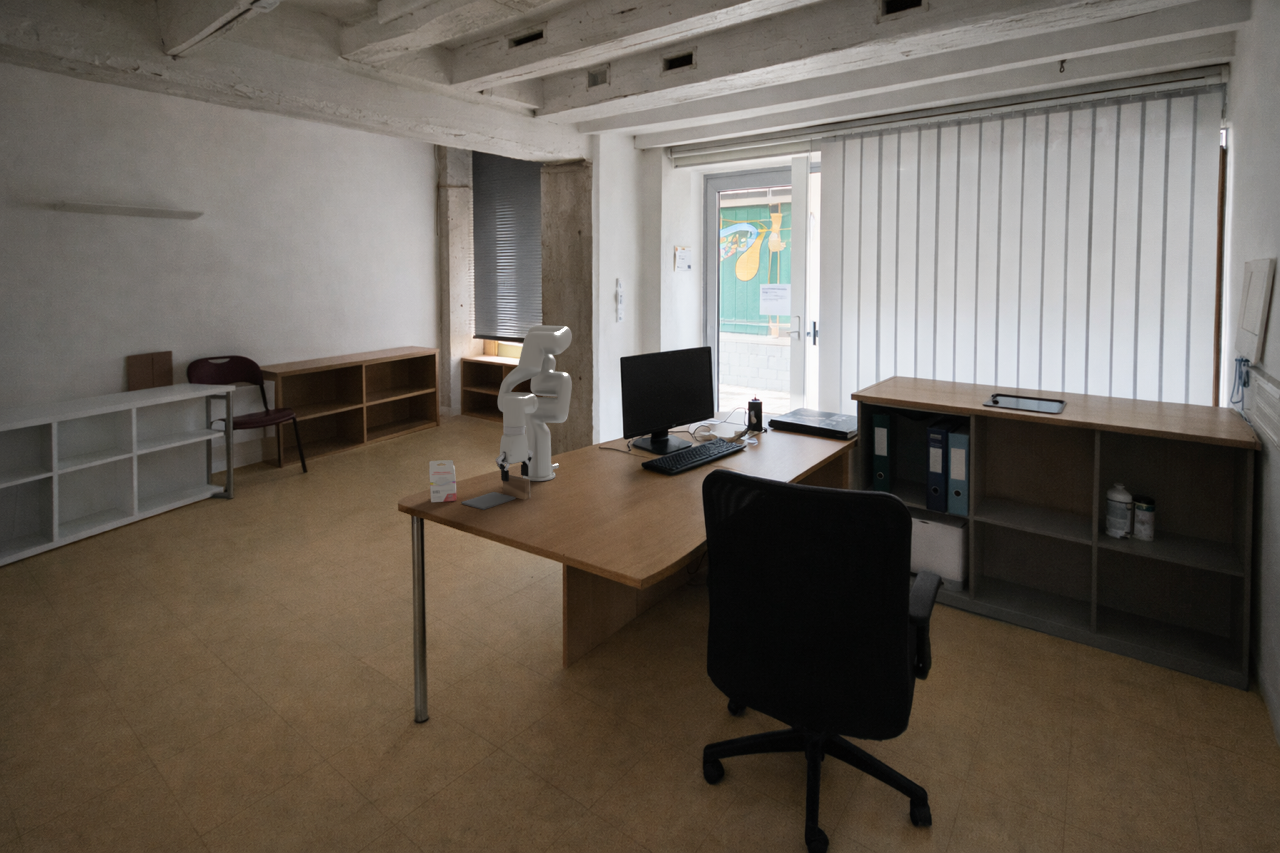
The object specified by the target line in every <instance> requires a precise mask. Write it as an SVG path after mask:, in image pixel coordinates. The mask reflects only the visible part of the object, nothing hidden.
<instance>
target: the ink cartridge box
mask: <svg viewBox="0 0 1280 853" xmlns="http://www.w3.org/2000/svg"><path fill="white" fill-rule="evenodd" d="M428 464H429V466H428V467H429V470H428V473H429V474H428V476H429V489H430V501H431V502H430V503H441V502H443V503H444V502H457V496H458V495H457V482H456V481H457V480H456V478H457V477H456V466H455V465H454V460H452V459H449V460H446V459H445V460H430V461H429V463H428ZM441 464H443V465H441Z"/></svg>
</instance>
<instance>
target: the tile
mask: <svg viewBox="0 0 1280 853" xmlns="http://www.w3.org/2000/svg"><path fill="white" fill-rule="evenodd" d="M502 494H505V495H509V496H513V497H516V498H517V499H520V500H523V501H527V500H529V499H531V481H530V479H526V478H523V476H522V477H520V476H516V475H513V474H509V481H508V482H506V481H502Z"/></svg>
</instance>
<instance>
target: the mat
mask: <svg viewBox="0 0 1280 853" xmlns="http://www.w3.org/2000/svg"><path fill="white" fill-rule="evenodd" d="M513 500H517V499H516V497H513V496H509V495H505V494H503V493H500V492H496V491H493V492H489V493H486V494H482V495H480V496H476V497H473V498H470V499H467V500H464V501H461V502H460V503H461V504H462V505H463V506H464V505H465V506H468V507H473V508H476V509H479V510H488V509H490V508H492V507H495V506H499V505H501V504H505V503H508V502H511V501H513Z"/></svg>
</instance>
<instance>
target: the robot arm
mask: <svg viewBox="0 0 1280 853" xmlns="http://www.w3.org/2000/svg"><path fill="white" fill-rule="evenodd" d="M572 337H573V334H572V330H571V329H570V328H569V327H568V326H565V325H533V326H531V327H529V329H528V331H527V334H526V335H525V336H524V340H523V343H522V348H521V352H520V356H519V359H518V364H517V366H516V367H515V368H514V369H512V370H511V371H510V372H509V373H508V374H507V375H506V376H505V377H504V379H503V380H502V382H501V384H500V389H499V393H498V396H497V407H498V410H499V411H500V412H502V414H503V415H502V416H503V417H502V418H503V419H502V420H503V434H502V435H501V439H500V445H499V446H500V447H499V455H498V456H497V457H496V458H495V463H496V466H497V467H498V468H499V470H500V480H501V481H502V482H503V481H506V482H508V481H509V475H510V471H509V467H510V466H511V465H514V464H519V463H521V464H520V476H522V478H526V479H530V482H545V481H550V480H553V479H555V478H556V473H555V471H554V470H557V469H558V468H559V467H560V466H559V463H557V462H556V463H554V464H553V463H552V445H551V444H552V442H551V441H552V439H551V438H552V436H551V431H550V428H549V427H548V425H547V423H549V424H550V423H551V424H553V423H554V424H559V423H560V424H563V423H564V422H566V421H567V419H568V416H569V412H570V405H571V404H570V403H571V398H572V397H571V396H572V390H573V389H572V387H573V385H572V384H573V382H572V377H571V375H570V373H567V372H565V371H556V366H557V365H556V364H557V360H556V358H555V357H554V356H555V355H556V356H557V355H561V354H562V353H563V352H564V351H565V350H566V349H568V348H569V347H570V345H571V343H572V340H573V338H572ZM530 379H531V380H530ZM527 380H530V391H531V392H532V393H531V392H518V391H516V392H514V391H512V390H513V389H514V388H515V387H516V386H517V385H519V384H521V383H522V382H525V381H527ZM536 395H537V396H536ZM541 396H542V397H541ZM547 396H548V397H547Z"/></svg>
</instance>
